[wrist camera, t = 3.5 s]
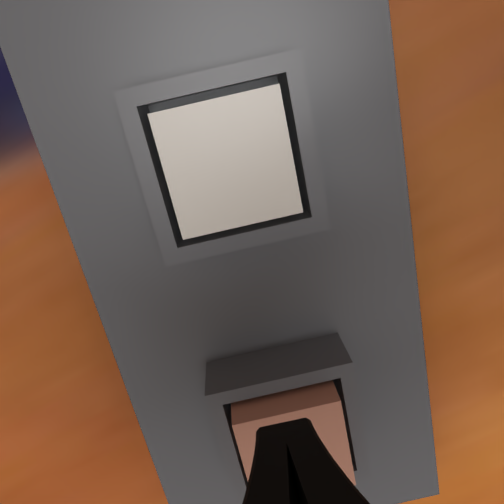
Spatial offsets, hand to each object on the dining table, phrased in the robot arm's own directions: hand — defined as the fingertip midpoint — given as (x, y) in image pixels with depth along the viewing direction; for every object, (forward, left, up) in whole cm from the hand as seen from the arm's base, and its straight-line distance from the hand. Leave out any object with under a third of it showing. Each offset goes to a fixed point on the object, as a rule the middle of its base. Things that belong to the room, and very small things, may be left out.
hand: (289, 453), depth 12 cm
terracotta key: (0, +5, -7) cm, 9 cm away
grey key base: (0, -1, -11) cm, 11 cm away
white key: (0, -7, -8) cm, 11 cm away
